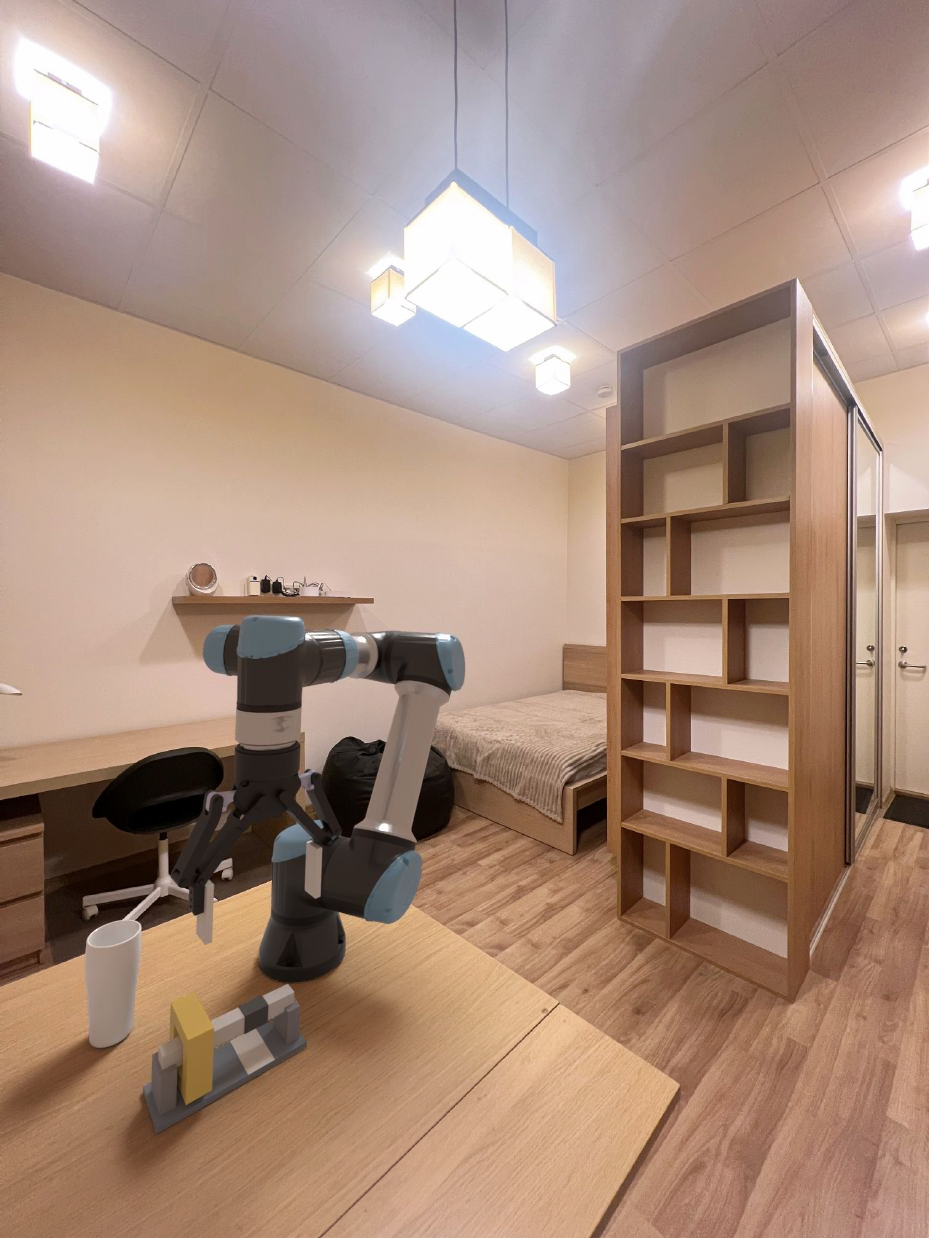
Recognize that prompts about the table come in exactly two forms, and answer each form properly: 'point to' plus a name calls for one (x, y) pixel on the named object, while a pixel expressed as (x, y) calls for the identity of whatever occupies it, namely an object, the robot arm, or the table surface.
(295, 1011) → the rail
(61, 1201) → the table surface
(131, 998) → the white cup
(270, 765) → the robot arm
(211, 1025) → the collar
